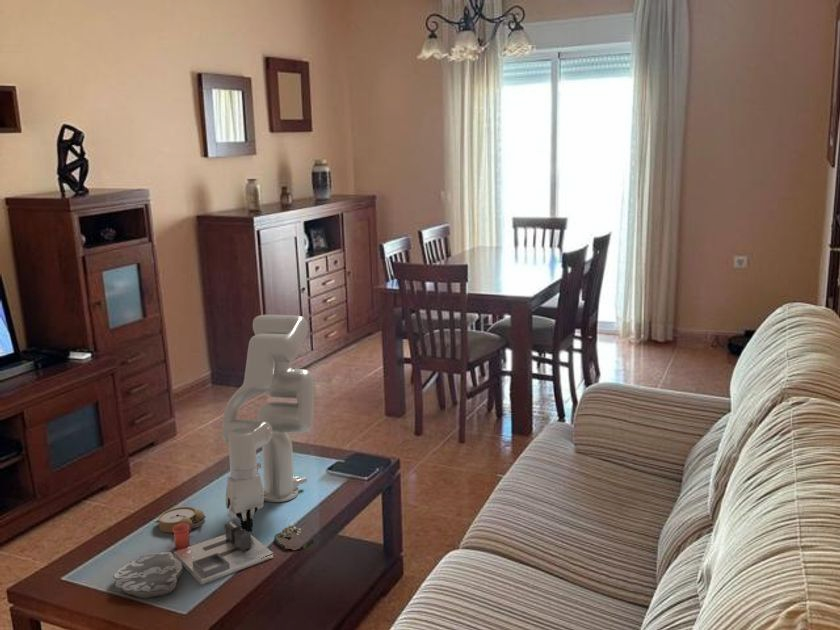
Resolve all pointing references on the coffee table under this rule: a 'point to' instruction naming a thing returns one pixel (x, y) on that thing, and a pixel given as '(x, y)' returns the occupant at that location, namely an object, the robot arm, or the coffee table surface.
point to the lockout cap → (181, 536)
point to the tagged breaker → (231, 530)
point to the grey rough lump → (290, 531)
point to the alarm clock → (180, 518)
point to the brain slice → (149, 575)
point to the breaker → (242, 539)
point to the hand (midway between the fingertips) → (247, 530)
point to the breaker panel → (220, 558)
